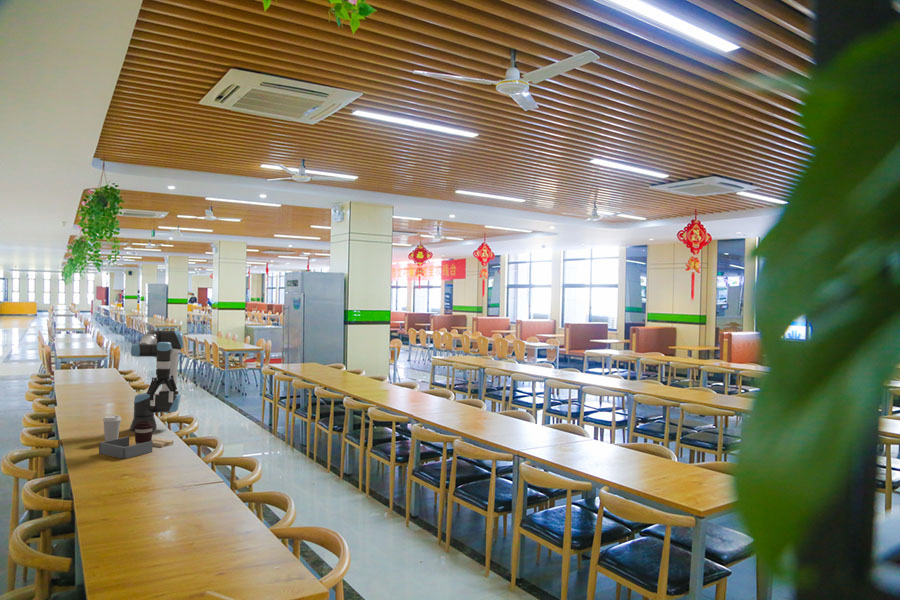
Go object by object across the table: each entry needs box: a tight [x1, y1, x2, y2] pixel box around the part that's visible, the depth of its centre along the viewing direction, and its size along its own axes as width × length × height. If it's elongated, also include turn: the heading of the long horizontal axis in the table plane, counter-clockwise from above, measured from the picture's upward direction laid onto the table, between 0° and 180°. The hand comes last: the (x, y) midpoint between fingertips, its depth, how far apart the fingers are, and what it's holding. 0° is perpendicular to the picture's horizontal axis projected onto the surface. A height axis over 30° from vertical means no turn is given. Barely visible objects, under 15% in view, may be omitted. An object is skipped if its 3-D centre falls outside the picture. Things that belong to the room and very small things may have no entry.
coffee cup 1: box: [102, 414, 122, 442], centre depth 337 cm, size 10×10×15 cm
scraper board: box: [151, 438, 174, 448], centre depth 336 cm, size 8×12×2 cm, turn 69°
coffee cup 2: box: [134, 421, 154, 445], centre depth 326 cm, size 10×10×15 cm
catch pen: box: [98, 436, 154, 460], centre depth 317 cm, size 17×20×6 cm
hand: (161, 404), depth 341 cm, fingers open, 13 cm apart
